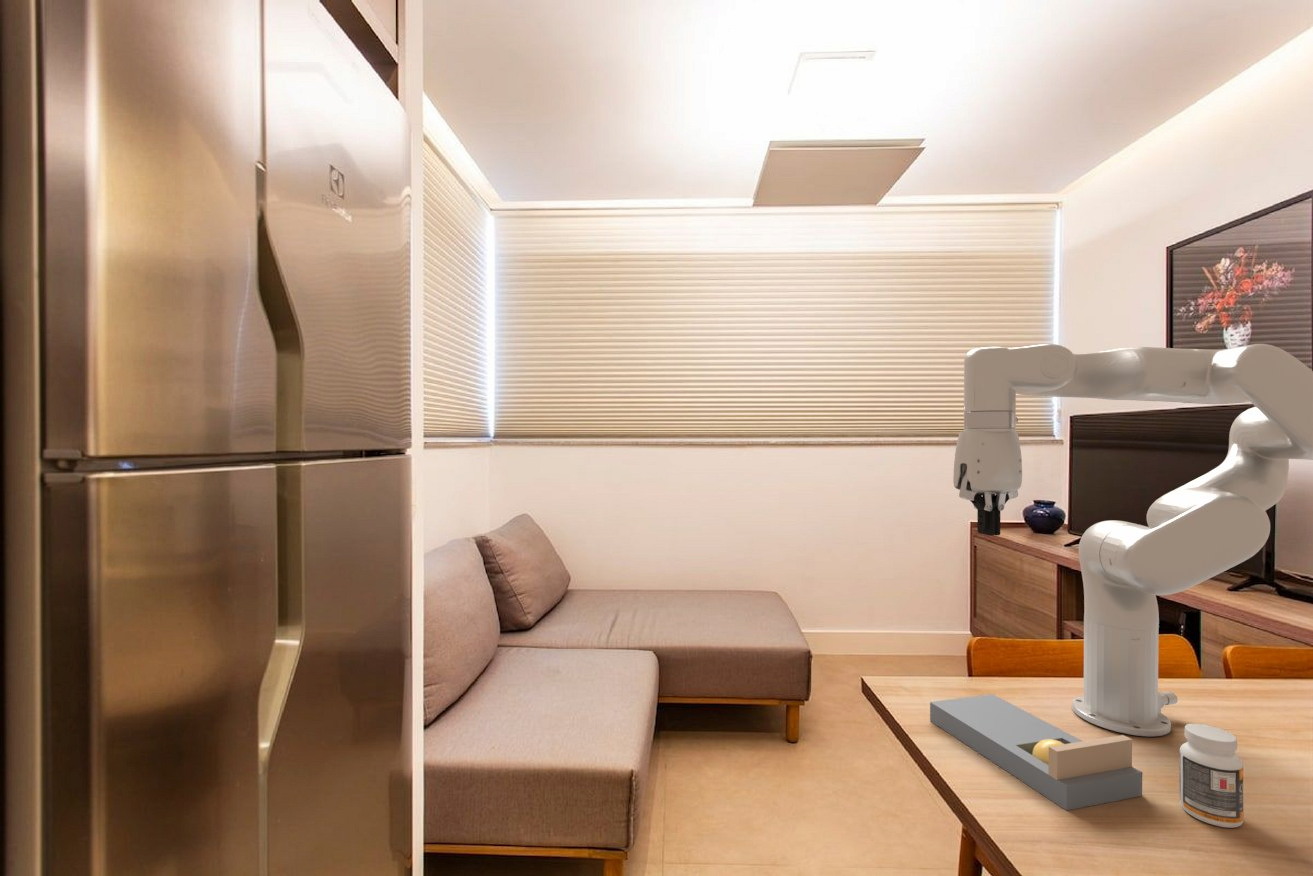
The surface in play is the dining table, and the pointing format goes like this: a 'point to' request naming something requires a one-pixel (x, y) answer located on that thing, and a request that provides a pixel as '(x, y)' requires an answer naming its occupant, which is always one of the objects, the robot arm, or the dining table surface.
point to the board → (1073, 767)
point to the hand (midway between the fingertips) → (988, 534)
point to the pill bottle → (1211, 776)
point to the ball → (1044, 749)
